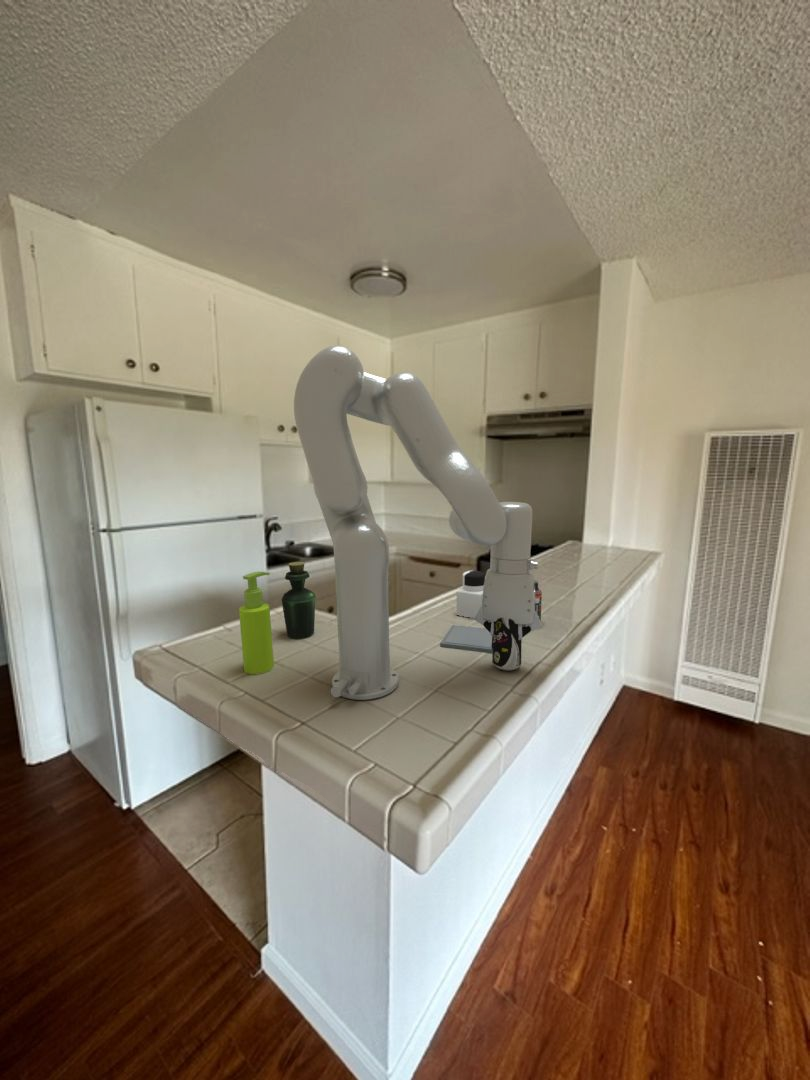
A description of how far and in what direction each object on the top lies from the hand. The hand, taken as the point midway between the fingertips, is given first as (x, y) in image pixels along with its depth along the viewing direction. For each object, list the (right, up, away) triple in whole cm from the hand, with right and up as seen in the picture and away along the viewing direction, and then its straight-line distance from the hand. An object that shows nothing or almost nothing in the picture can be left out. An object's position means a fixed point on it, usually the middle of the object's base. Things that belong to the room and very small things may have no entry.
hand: (506, 653), depth 88 cm
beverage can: (0, -3, +1) cm, 3 cm away
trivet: (-5, -1, +15) cm, 16 cm away
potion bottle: (-46, -1, +21) cm, 51 cm away
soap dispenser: (-50, -4, +3) cm, 51 cm away
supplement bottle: (+12, +1, +25) cm, 28 cm away
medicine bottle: (-1, +2, +33) cm, 33 cm away
